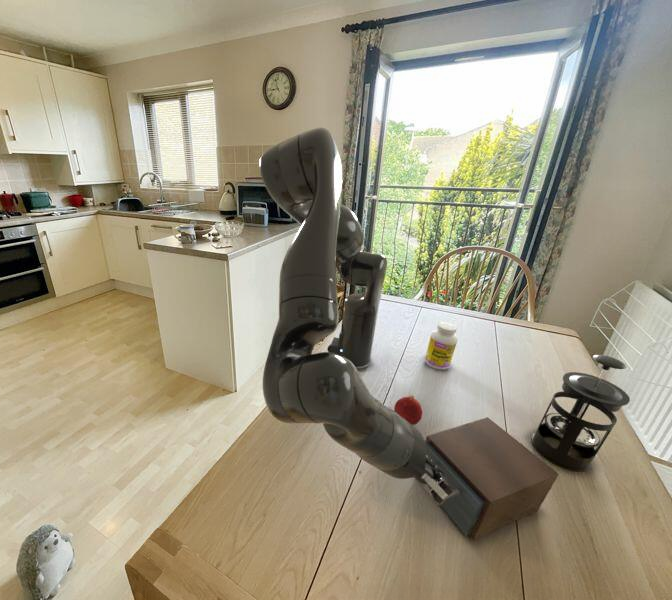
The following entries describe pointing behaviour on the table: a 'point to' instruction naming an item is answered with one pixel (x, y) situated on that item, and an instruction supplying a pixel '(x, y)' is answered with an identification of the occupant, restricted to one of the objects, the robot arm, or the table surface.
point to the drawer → (457, 495)
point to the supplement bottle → (441, 346)
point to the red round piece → (409, 409)
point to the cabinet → (495, 472)
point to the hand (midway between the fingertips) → (436, 474)
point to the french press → (580, 417)
